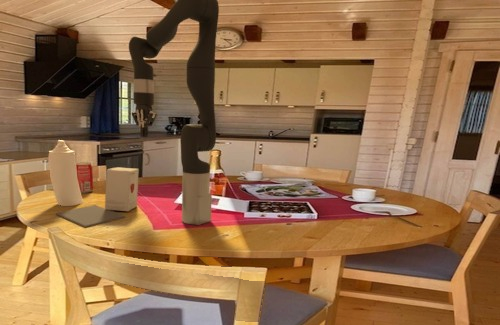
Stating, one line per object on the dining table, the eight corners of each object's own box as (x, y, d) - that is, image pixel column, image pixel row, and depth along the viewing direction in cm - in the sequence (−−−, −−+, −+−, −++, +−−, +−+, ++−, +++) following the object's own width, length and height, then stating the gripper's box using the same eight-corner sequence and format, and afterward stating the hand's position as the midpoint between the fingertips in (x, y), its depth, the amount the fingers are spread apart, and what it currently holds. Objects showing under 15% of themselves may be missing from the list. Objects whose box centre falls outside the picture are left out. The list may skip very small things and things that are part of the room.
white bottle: (81, 207, 121) (79, 141, 118) (48, 209, 117) (45, 141, 114) (84, 199, 132) (82, 139, 128) (54, 201, 128) (51, 138, 124)
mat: (125, 217, 111) (125, 215, 111) (85, 227, 100) (85, 225, 100) (94, 206, 123) (94, 204, 123) (55, 214, 111) (55, 212, 111)
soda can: (96, 191, 146) (95, 163, 144) (81, 194, 140) (80, 165, 138) (87, 189, 150) (86, 161, 148) (72, 191, 144) (71, 163, 142)
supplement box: (128, 211, 116) (130, 171, 115) (104, 210, 116) (105, 169, 115) (137, 206, 125) (139, 168, 124) (115, 204, 125) (116, 166, 124)
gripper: (162, 92, 122) (162, 138, 125) (141, 93, 130) (141, 135, 132) (146, 90, 116) (146, 138, 119) (124, 91, 124) (125, 136, 126)
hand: (144, 137), depth 125 cm, fingers closed
